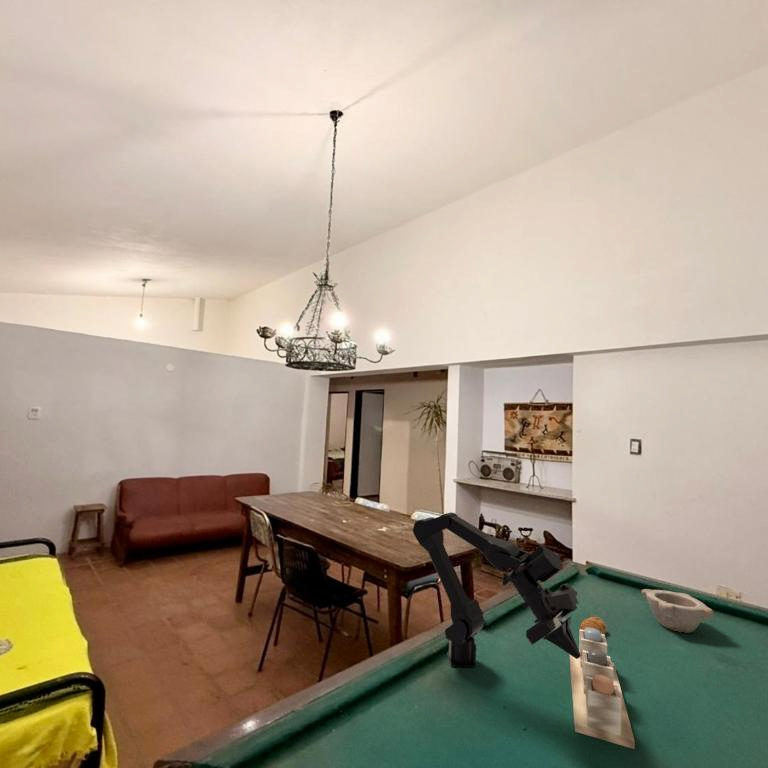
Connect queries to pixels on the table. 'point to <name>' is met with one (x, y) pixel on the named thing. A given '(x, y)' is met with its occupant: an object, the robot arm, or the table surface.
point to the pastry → (594, 624)
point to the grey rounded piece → (597, 657)
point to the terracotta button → (602, 684)
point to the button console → (598, 698)
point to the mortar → (677, 609)
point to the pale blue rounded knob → (592, 634)
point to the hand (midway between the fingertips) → (578, 657)
